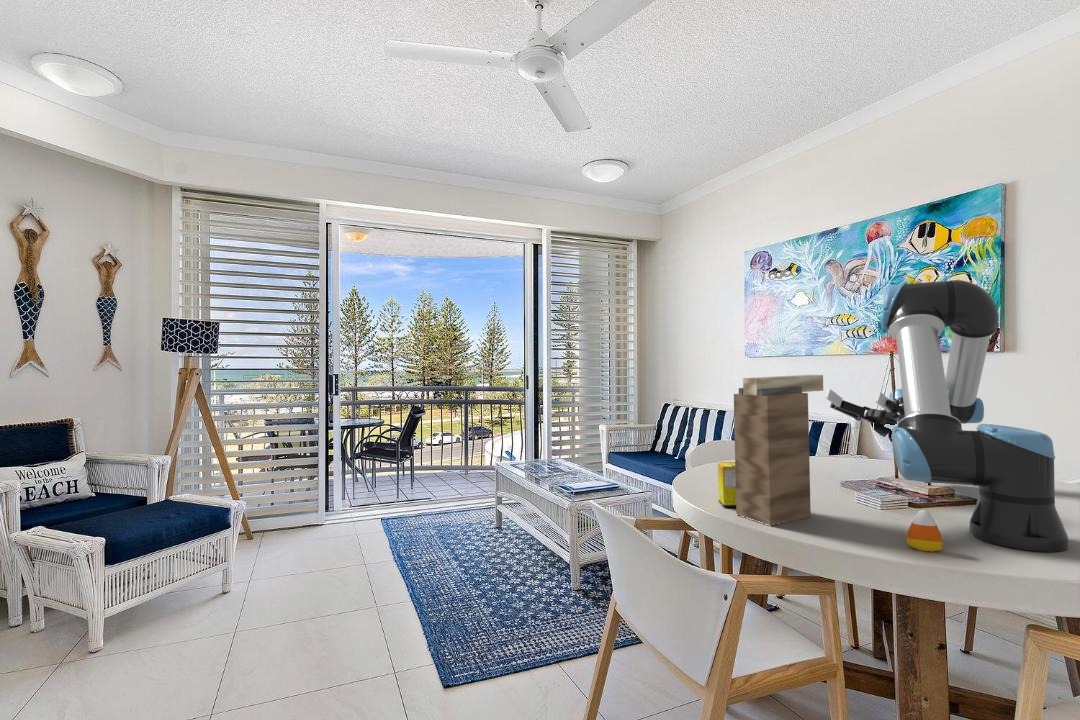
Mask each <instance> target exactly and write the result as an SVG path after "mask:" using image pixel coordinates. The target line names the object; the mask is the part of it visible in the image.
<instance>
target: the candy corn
mask: <svg viewBox="0 0 1080 720" xmlns="http://www.w3.org/2000/svg"><path fill="white" fill-rule="evenodd" d="M906 543H907V545H908V546H909V547H911V548H913V549H916V550H917V551H920V550H921V552H926V551H927V552H928V551H930V552H929V553H934V552H938V551H940V550H941V549H942V548H943V547H944V544H943V543H944V541H943V537H942V534H941V531H940V529H939V526H938V525H937V522H936V521H935V519H934V518H933V516H932V514H931V513H930V512H929V511H927V510H926V509H920V510H919V511H918V512H917V513H916V515H915V516H914V517H913V519H912V522H911V523H910V525H909V527H908V530H907V534H906Z"/></svg>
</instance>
